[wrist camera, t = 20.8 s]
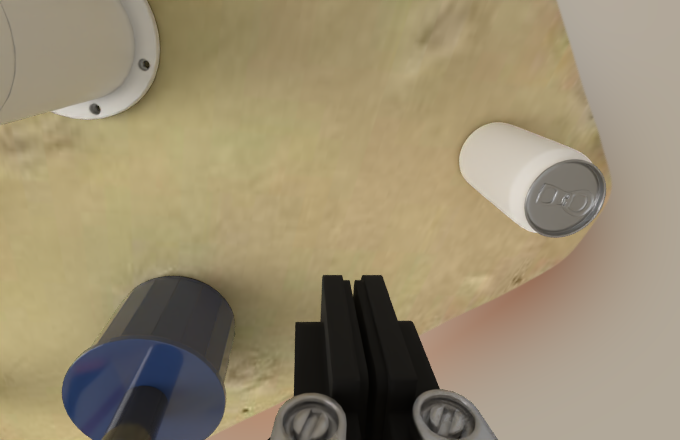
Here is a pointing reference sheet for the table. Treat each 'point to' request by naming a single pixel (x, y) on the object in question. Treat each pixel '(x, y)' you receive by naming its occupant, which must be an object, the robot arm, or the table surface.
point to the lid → (143, 391)
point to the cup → (177, 317)
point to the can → (533, 179)
